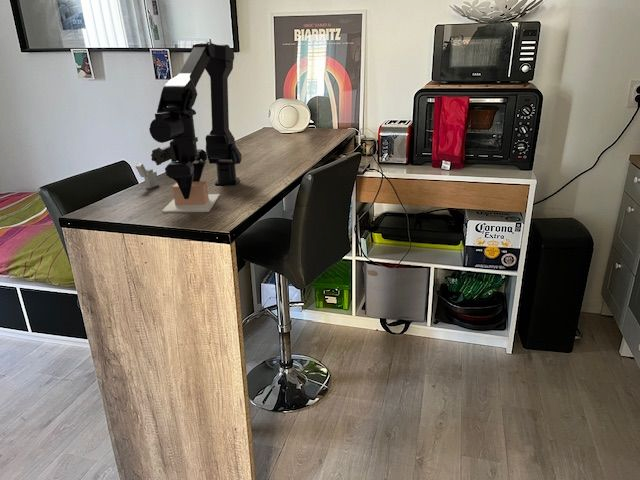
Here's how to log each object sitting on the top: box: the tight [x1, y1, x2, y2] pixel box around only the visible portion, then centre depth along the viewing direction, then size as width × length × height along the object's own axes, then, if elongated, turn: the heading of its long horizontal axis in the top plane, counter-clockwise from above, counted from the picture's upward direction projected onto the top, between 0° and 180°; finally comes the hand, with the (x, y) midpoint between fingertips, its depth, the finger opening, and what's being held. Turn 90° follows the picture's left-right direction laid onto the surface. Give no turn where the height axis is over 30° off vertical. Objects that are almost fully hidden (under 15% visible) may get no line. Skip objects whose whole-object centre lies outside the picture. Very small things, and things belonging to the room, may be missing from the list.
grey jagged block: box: [135, 162, 159, 189], centre depth 150 cm, size 7×2×8 cm, turn 161°
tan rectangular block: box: [172, 181, 209, 205], centre depth 134 cm, size 8×4×5 cm, turn 89°
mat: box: [161, 193, 221, 214], centre depth 135 cm, size 14×12×1 cm
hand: (191, 193), depth 134 cm, fingers open, 9 cm apart
